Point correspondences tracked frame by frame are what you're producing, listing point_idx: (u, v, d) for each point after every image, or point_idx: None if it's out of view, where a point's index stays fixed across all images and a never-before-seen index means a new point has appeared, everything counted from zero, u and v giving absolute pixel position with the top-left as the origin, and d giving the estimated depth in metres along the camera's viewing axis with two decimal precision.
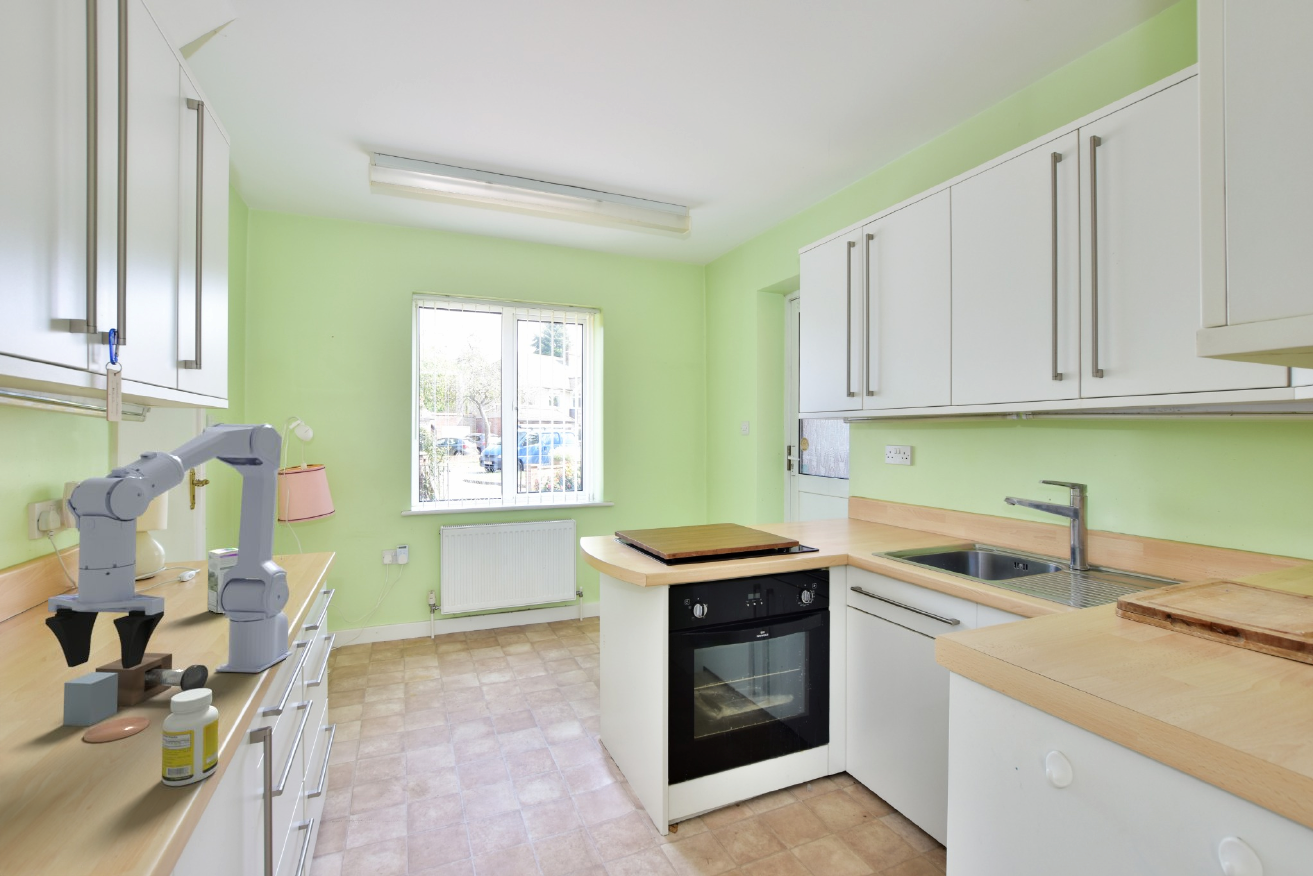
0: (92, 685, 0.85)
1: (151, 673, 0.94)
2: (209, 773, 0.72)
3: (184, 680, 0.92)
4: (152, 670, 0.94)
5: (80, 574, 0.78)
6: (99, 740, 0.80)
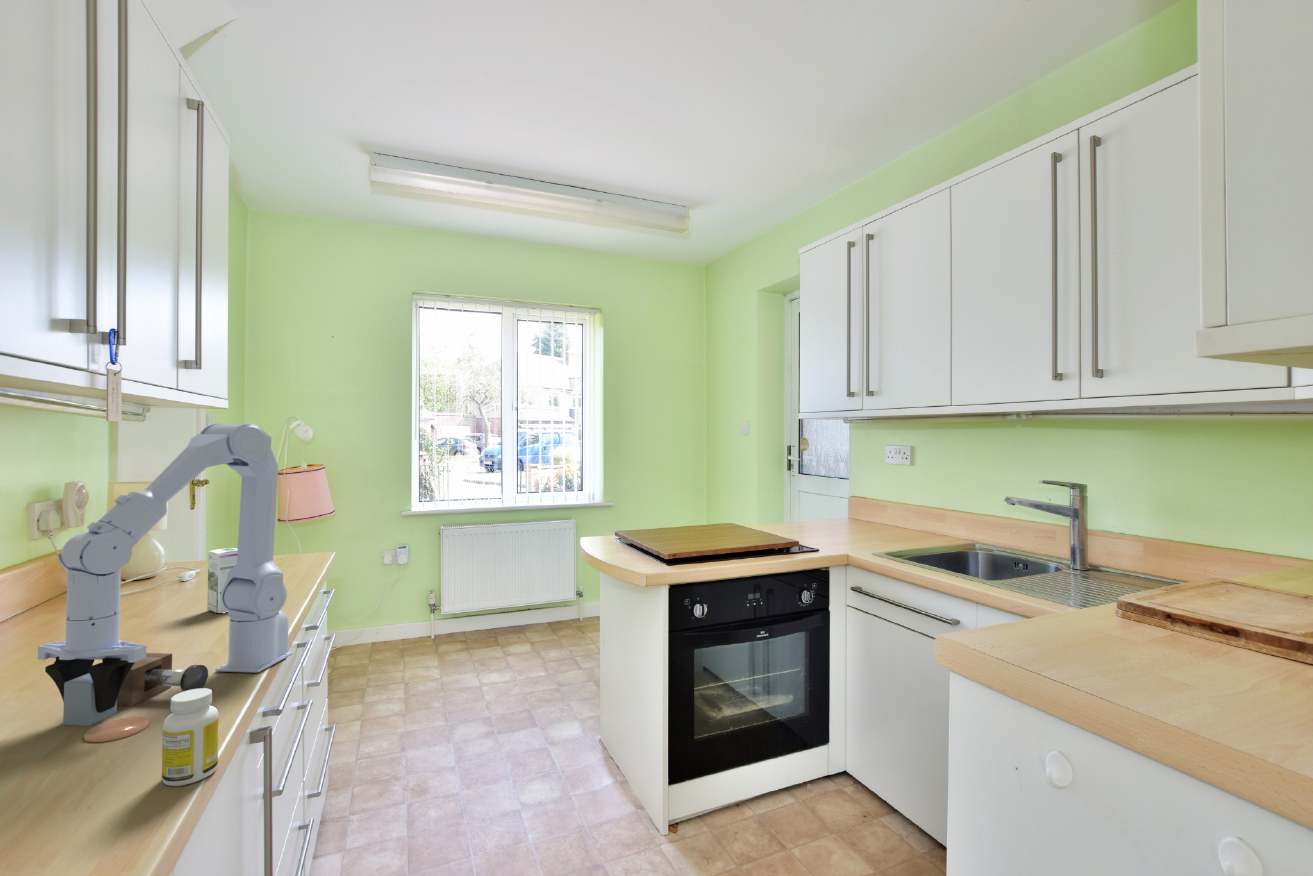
0: (92, 685, 0.85)
1: (151, 673, 0.94)
2: (209, 773, 0.72)
3: (184, 680, 0.92)
4: (152, 670, 0.94)
5: (67, 625, 0.84)
6: (99, 740, 0.80)
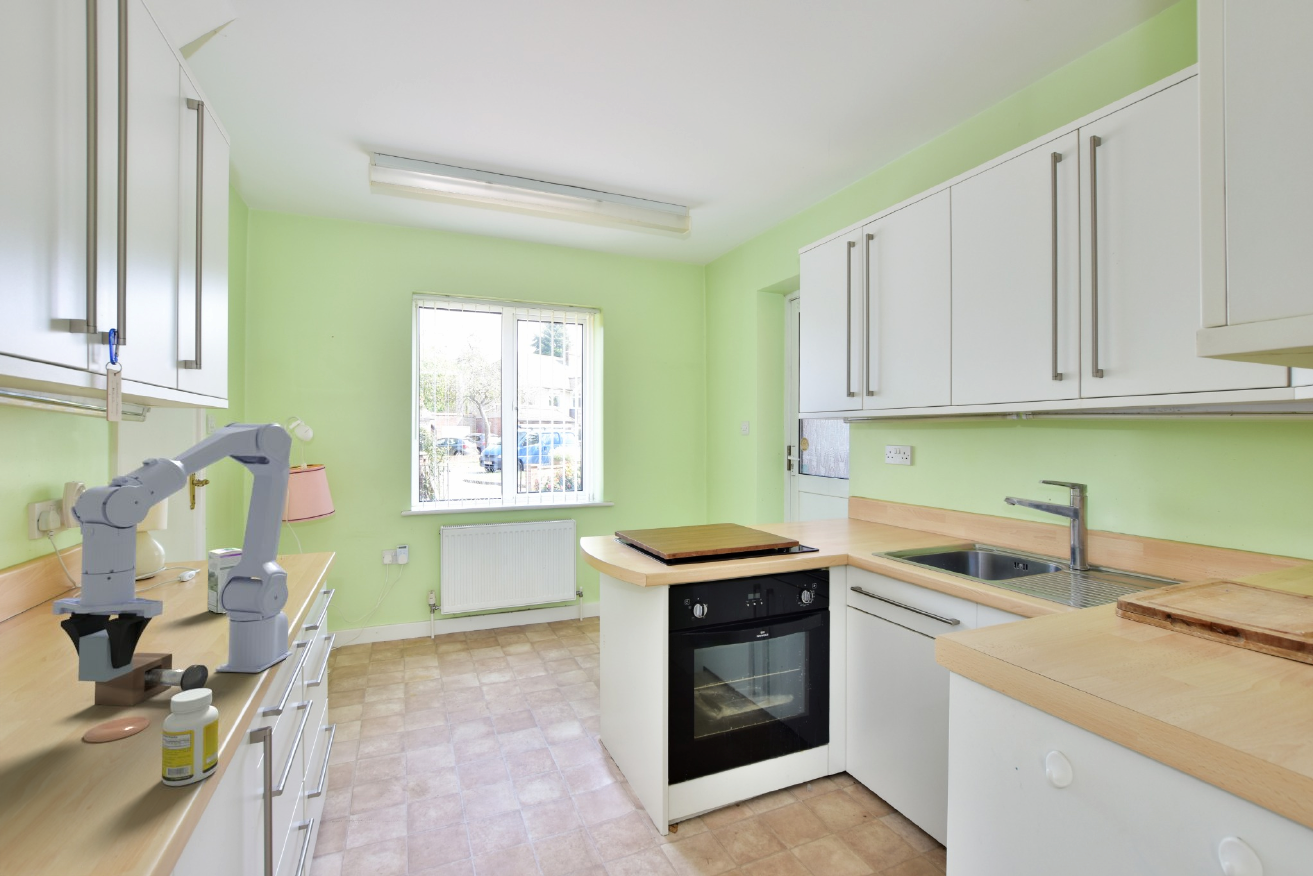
0: (108, 640, 0.83)
1: (151, 673, 0.94)
2: (209, 773, 0.72)
3: (184, 680, 0.92)
4: (152, 670, 0.94)
5: (83, 578, 0.82)
6: (99, 740, 0.80)
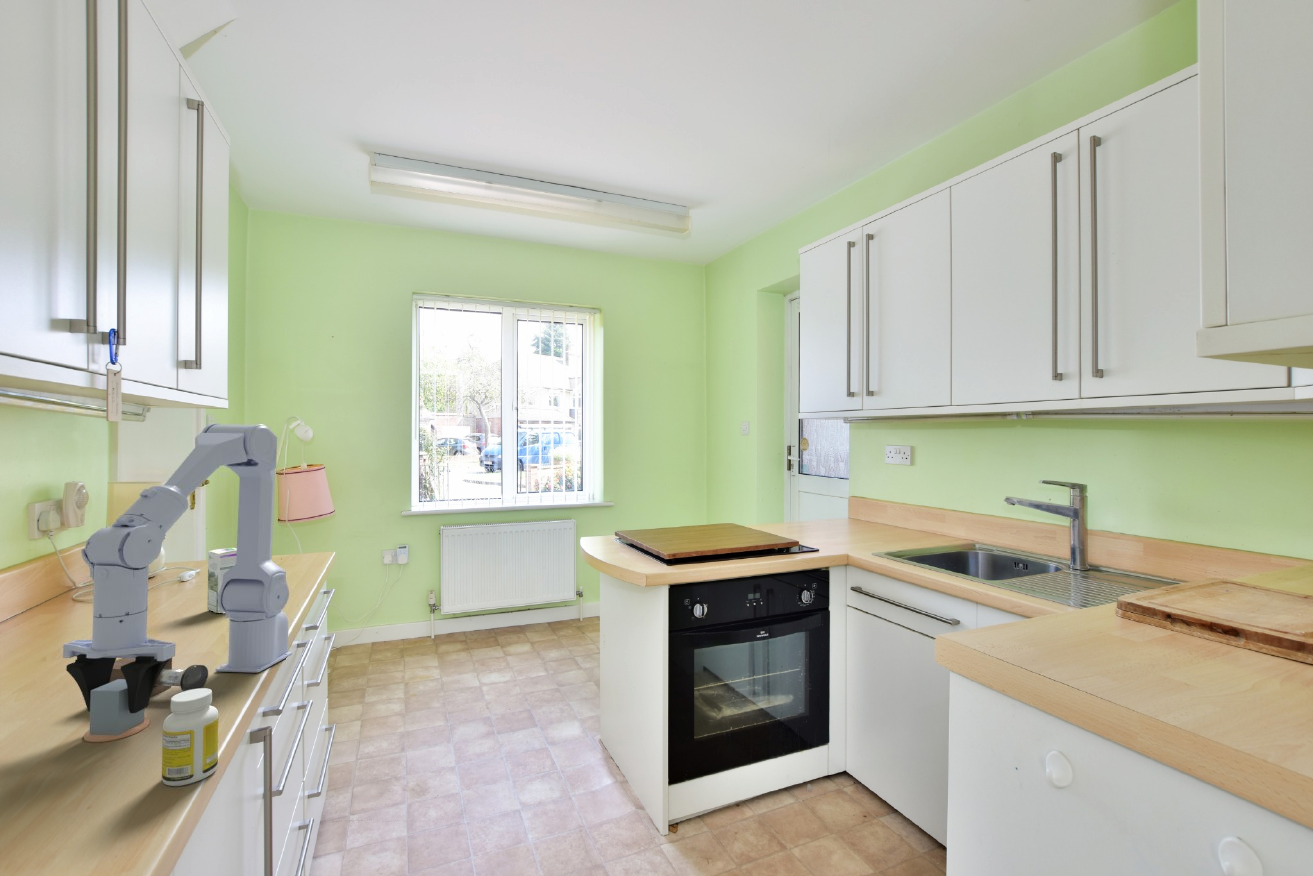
0: (120, 693, 0.81)
1: None
2: (209, 773, 0.72)
3: (184, 680, 0.92)
4: None
5: (94, 622, 0.81)
6: (99, 740, 0.80)
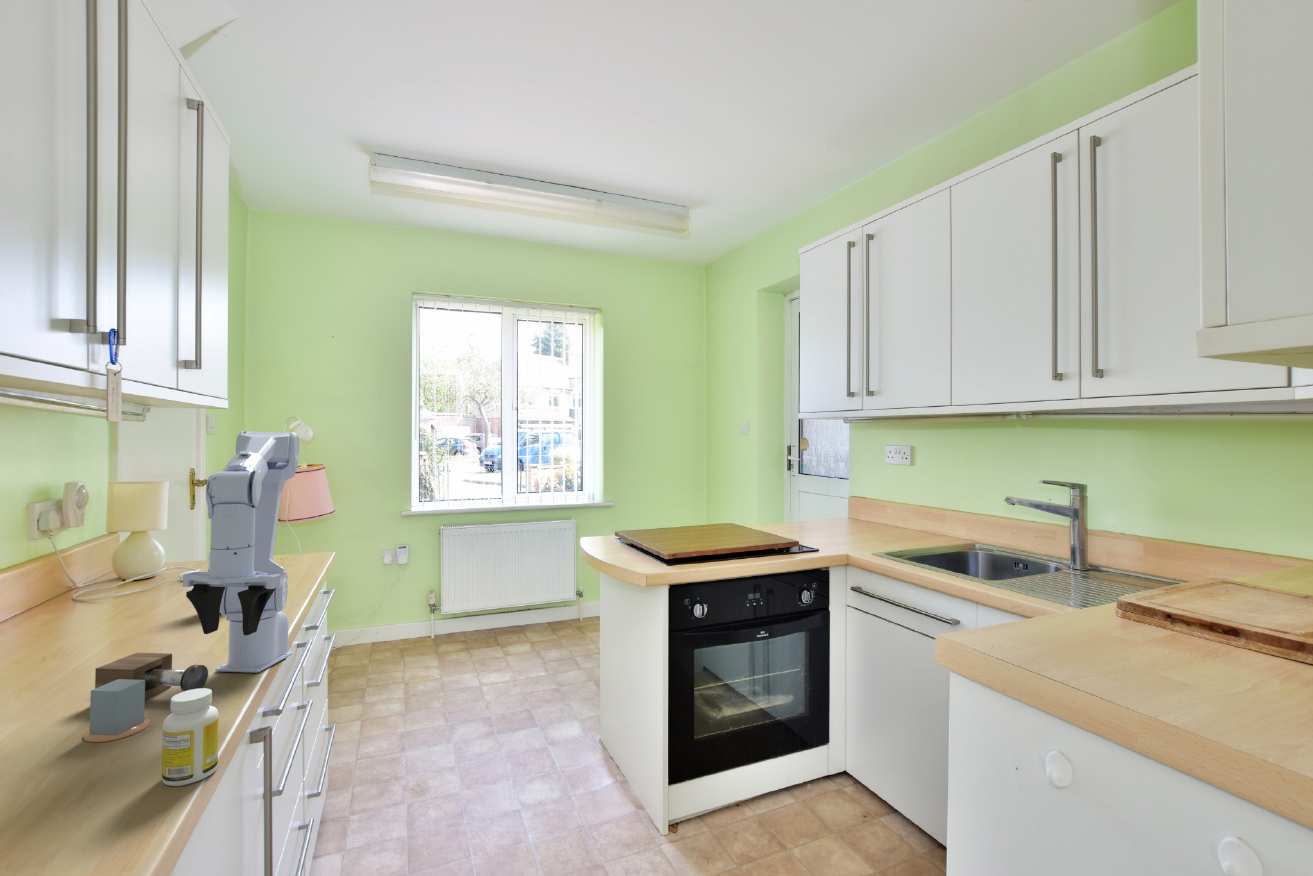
0: (120, 693, 0.81)
1: (151, 673, 0.94)
2: (209, 773, 0.72)
3: (184, 680, 0.92)
4: (152, 670, 0.94)
5: (212, 553, 0.92)
6: (99, 740, 0.80)
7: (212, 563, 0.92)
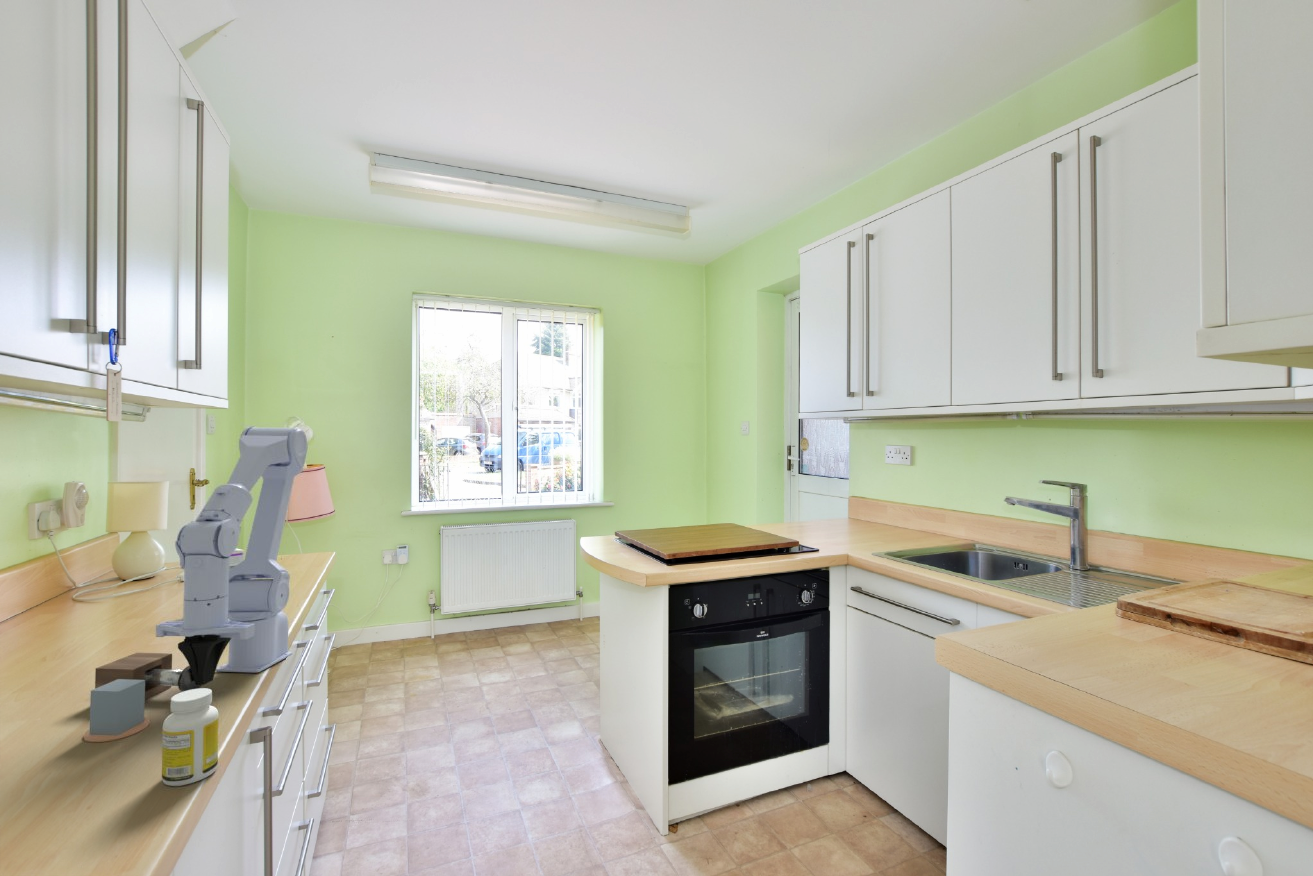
0: (120, 693, 0.81)
1: (149, 673, 0.94)
2: (209, 773, 0.72)
3: (182, 680, 0.92)
4: (150, 670, 0.94)
5: (185, 605, 0.92)
6: (99, 740, 0.80)
7: (185, 614, 0.92)
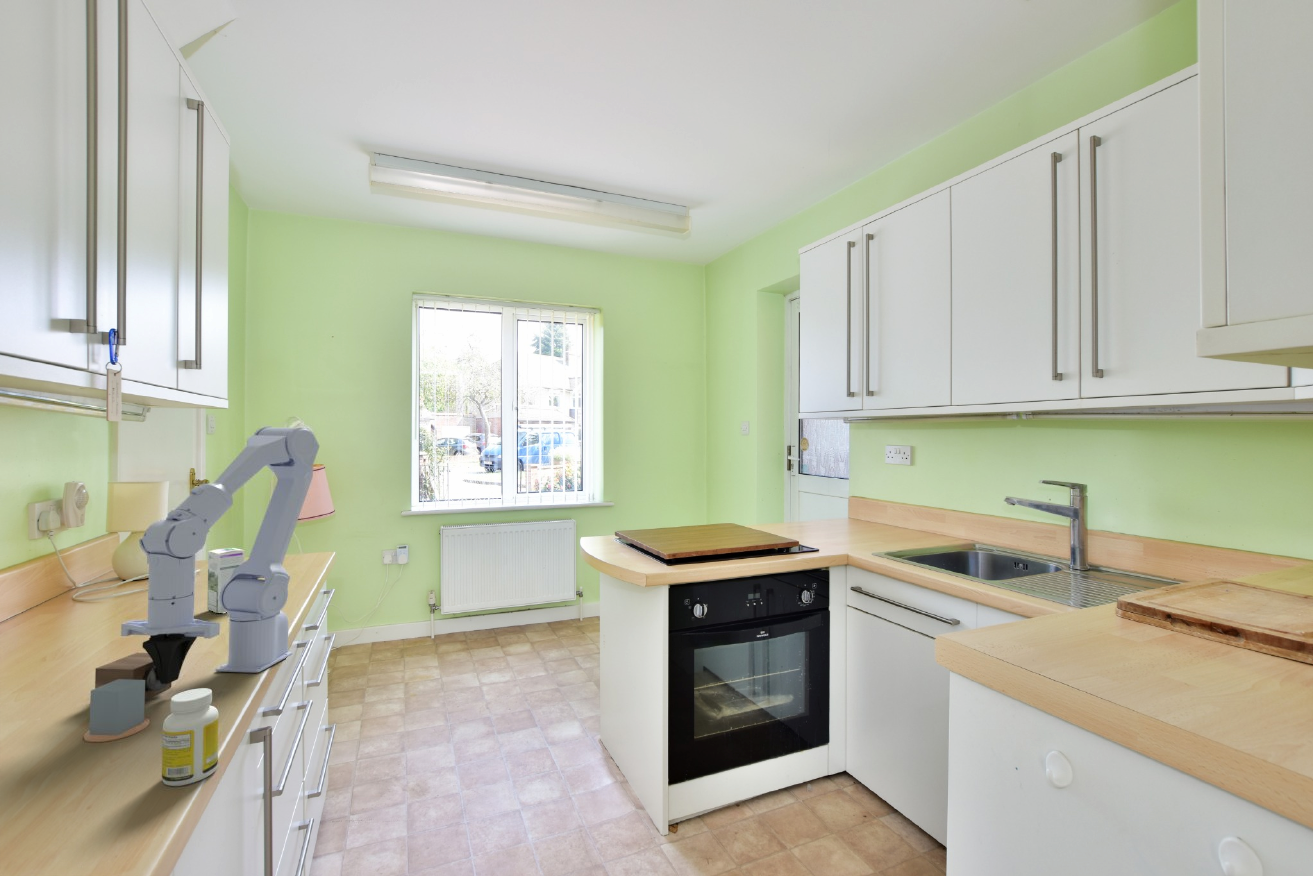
0: (120, 693, 0.81)
1: None
2: (209, 773, 0.72)
3: (147, 679, 0.92)
4: None
5: (150, 604, 0.92)
6: (99, 740, 0.80)
7: (149, 613, 0.92)
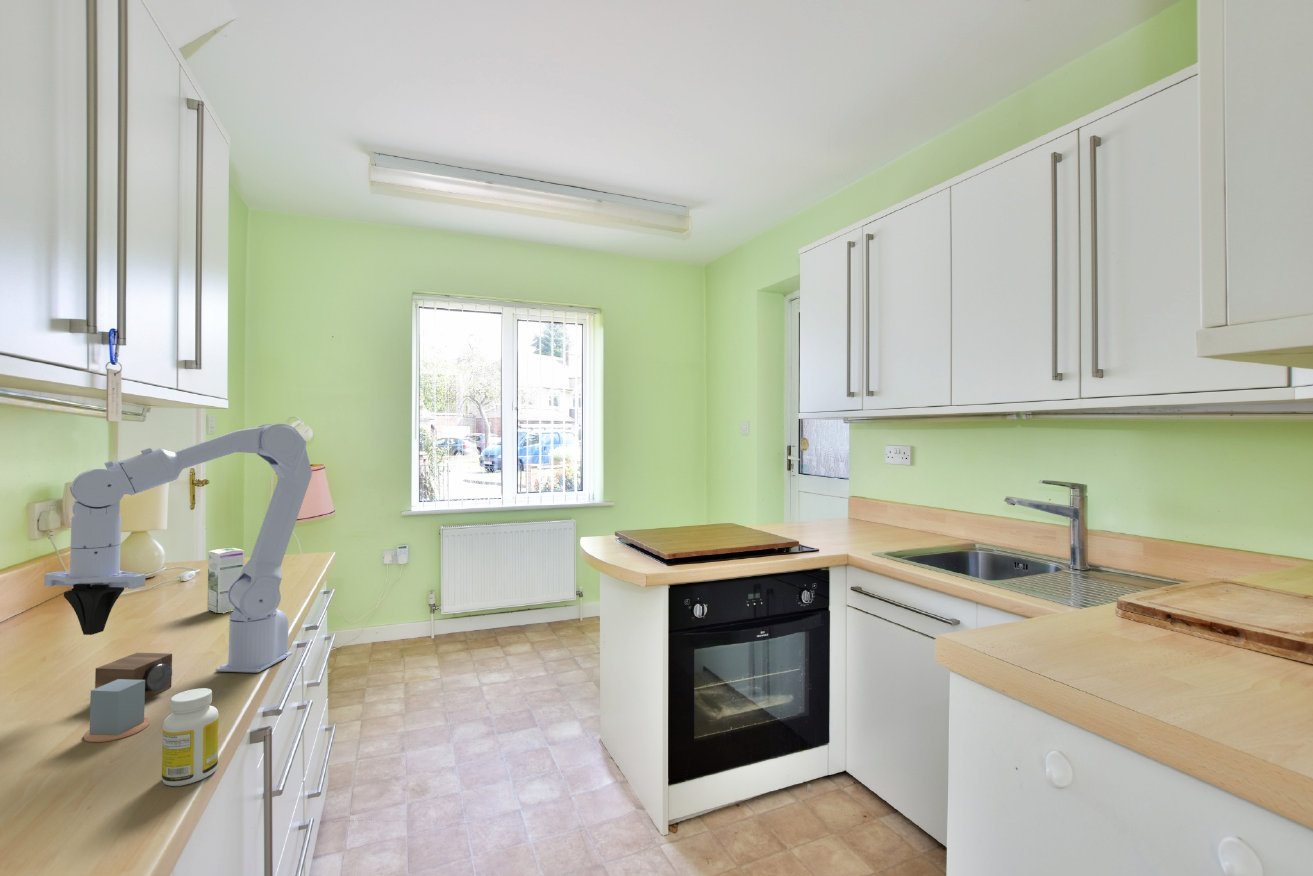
0: (120, 693, 0.81)
1: None
2: (209, 773, 0.72)
3: (147, 679, 0.92)
4: None
5: (72, 553, 0.90)
6: (99, 740, 0.80)
7: (71, 562, 0.90)
